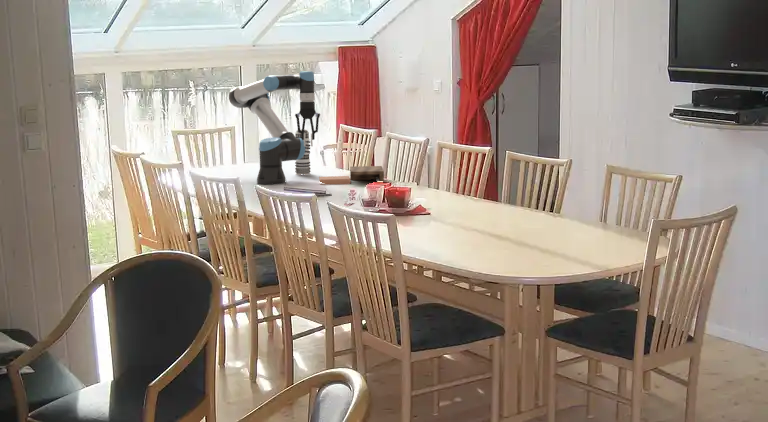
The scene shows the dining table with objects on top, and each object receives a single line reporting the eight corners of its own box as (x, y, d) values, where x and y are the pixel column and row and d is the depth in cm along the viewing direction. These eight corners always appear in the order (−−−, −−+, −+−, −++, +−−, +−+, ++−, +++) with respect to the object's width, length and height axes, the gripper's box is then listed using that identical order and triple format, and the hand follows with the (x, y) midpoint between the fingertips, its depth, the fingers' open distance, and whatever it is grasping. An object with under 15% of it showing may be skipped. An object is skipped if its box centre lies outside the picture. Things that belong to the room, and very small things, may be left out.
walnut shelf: (351, 185, 496) (351, 171, 494) (350, 179, 515) (350, 166, 514) (383, 184, 496) (383, 171, 495) (381, 178, 516) (381, 166, 515)
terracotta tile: (320, 185, 499) (319, 179, 498) (319, 182, 510) (319, 176, 509) (350, 184, 500) (350, 178, 500) (349, 181, 511) (348, 175, 511)
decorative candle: (312, 173, 539) (311, 129, 535) (309, 175, 530) (308, 130, 526) (296, 173, 540) (295, 129, 536) (293, 175, 531) (292, 130, 527)
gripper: (291, 101, 492) (292, 147, 496) (322, 101, 493) (323, 146, 497) (292, 100, 500) (293, 145, 504) (322, 100, 501) (323, 145, 505)
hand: (308, 145), depth 501 cm, fingers open, 3 cm apart
